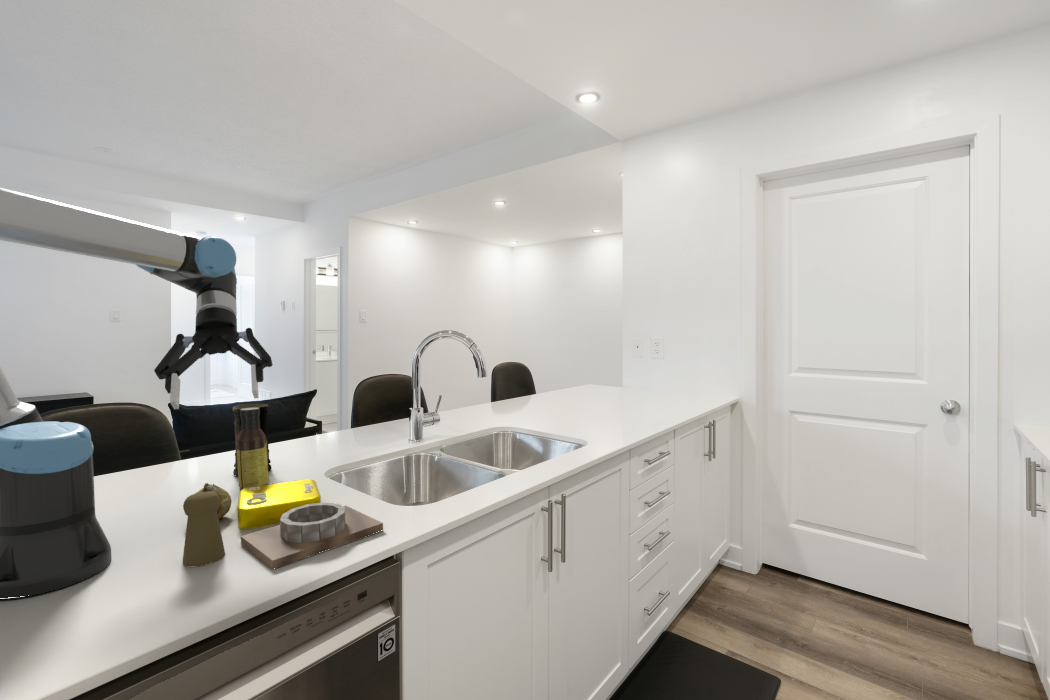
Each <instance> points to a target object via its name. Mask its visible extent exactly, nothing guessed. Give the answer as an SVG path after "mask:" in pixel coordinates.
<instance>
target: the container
mask: <svg viewBox="0 0 1050 700" xmlns="http://www.w3.org/2000/svg"><path fill="white" fill-rule="evenodd" d="M244 408H260V415H259V419H260V428H261V430H262V431H263V432H264V434H265V436H266V440H267V455H268V472H269V471H270V470H272V465H271V462H272V461H271V459H270V450H269V428H268V427H269V425H268V422H269V420H268V409H269V404H268V403H246V404H237V405H234V406H233V407H232V412H234V413H233V415H234V422H233V423H234V439H235V440H234V442H235V444H234V445H235V448H234V449H235V452H234V459H235V460H234V464H233V467H234V469H233V471H232V472H233V475H234V476H235V475H236V476H235V477H238V465H237V437H238V435H239V433H240V432H241V430H242V427H241V426H242V421H241V416H240V410H241V409H244ZM270 472H271V471H270ZM270 472H269V473H270Z"/></svg>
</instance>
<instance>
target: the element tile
mask: <svg viewBox="0 0 1050 700" xmlns="http://www.w3.org/2000/svg"><path fill="white" fill-rule="evenodd" d="M239 491H240V490H239ZM238 493H239V494H238V501H237V507H236V508H237V509H236V510H237V527H238V529H240V530H250V529H256V528H261V527H268V526H273V525H274V526H276V525H280V519H281V516H282V514H284V513H285V512H287V511H289V510H291V509H293V508H296V507H300V506H304V505H307V504H308V505H309V504H316V503H322V501H321V499H322V498H321V497H322V496H321V494H320V493H321V492H320V491H319V487H318V485H317V482H316V481H315V480H314V479H313V478H307V479H299V480H298V479H297V480H292V481H285V482H278V483H270V484H269V483H268V485H262V486H255V487H248V488H244V489H242V490H241V491H240V492H238Z"/></svg>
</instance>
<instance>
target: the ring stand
mask: <svg viewBox="0 0 1050 700" xmlns="http://www.w3.org/2000/svg"><path fill="white" fill-rule="evenodd" d="M381 530H383V531H384V522H382V521H379V520H377V519H375V518H373V517H371V516H369V515H367V514H364V513H362V512H361V511H358V510H356V509H354V508H352V507H350V506H348V505H342V504H341V503H340V504H339V503H334V502H321V503H316V504H309V505H308V504H307V505H304V506H300V507H296V508H293V509H291V510H289V511H287V512H285V513H284V514H282V516H281V519H280V524H276V525H274V526H271V527H268V528H267V527H266V528H264V529H261V530H257V531H254V532H250V533H248V534H247V533H246V534H244V535H241V536H240V545H241V546H243V548H245V549H246V550H247V551H248V552H249V553H251V552H252V553H253V555H254V556H255V557H256V556H257V557H258V558H257V557H256V558H257V559H259V560H260V561H261V560H262V561H263V562H262V561H261V562H262V563H264V564H265V565H266V564H267V565H268V567H269V568H270V569H271V568H272V569H274V568H276V569H279V568H281V567H280V566H282V567H285V566H287V565H286V564H288V565H290V564H289V563H291V564H293V563H295V562H294V561H296V562H298V561H297V560H299V561H301V560H300V559H302V560H304V559H303V558H305V557H308V556H310V557H312V555H313V556H316V555H318V554H317V553H319V552H322V551H325V550H327V551H329V550H328V549H330V550H332V549H331V548H333V549H335V548H334V547H336V548H338V547H337V546H339V547H341V546H340V545H342V546H343V544H344V545H347V544H349V543H348V542H350V543H353V542H355V541H354V540H356V541H359V540H361V539H363V537H364V538H366V537H365V536H367V537H369V536H368V535H370V536H372V535H371V534H373V533H375V534H377V533H376V532H378V531H381ZM381 532H382V531H381ZM378 533H379V532H378ZM373 535H374V534H373ZM360 538H361V539H360ZM352 541H353V542H352ZM346 543H347V544H346ZM325 552H326V551H325ZM252 553H251V554H252ZM322 553H323V552H322ZM315 554H316V555H315ZM319 554H320V553H319ZM308 558H309V557H308ZM305 559H306V558H305ZM292 562H293V563H292ZM267 565H266V566H267ZM284 565H285V566H284ZM278 567H279V568H278ZM272 569H271V570H272ZM274 570H275V569H274Z"/></svg>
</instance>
